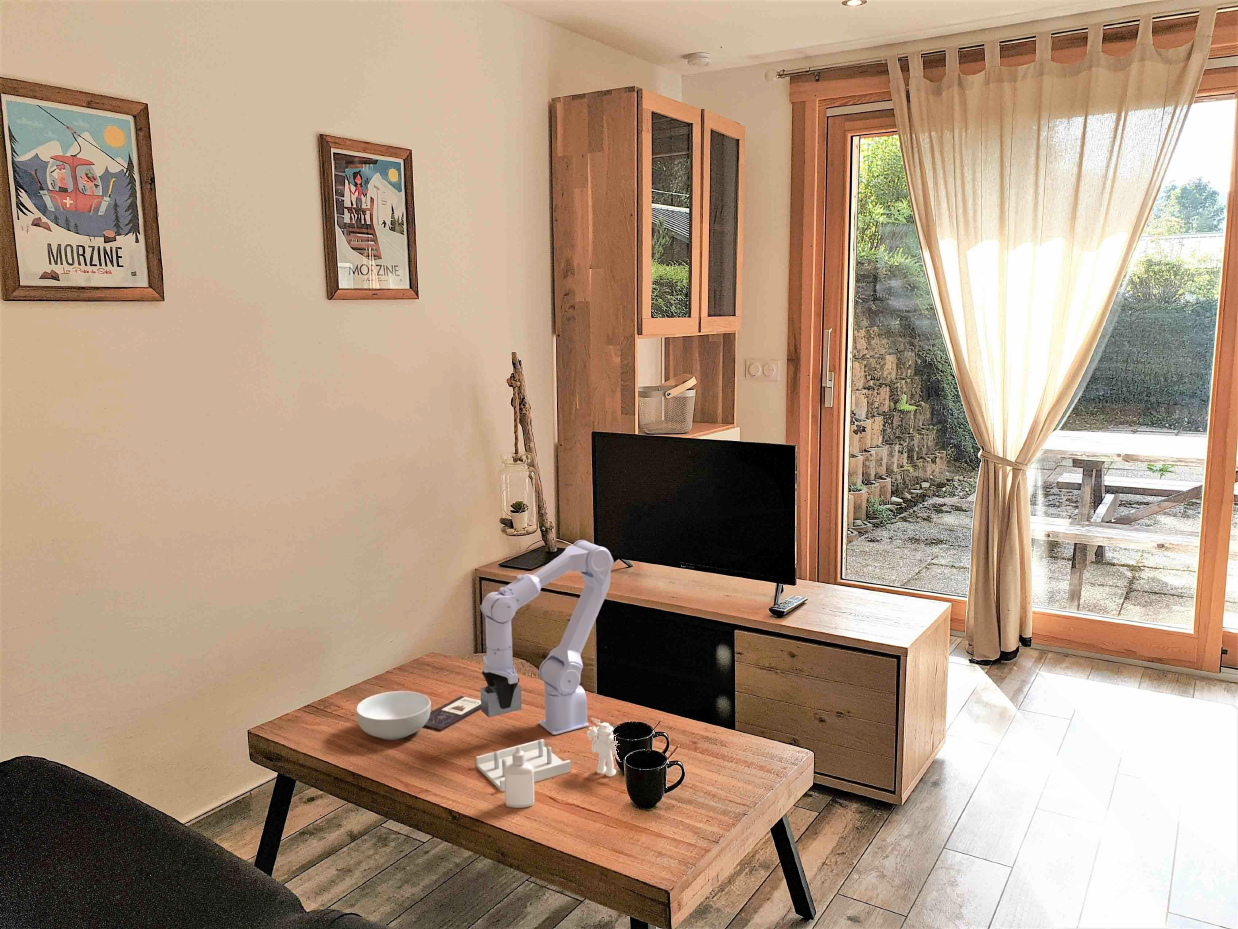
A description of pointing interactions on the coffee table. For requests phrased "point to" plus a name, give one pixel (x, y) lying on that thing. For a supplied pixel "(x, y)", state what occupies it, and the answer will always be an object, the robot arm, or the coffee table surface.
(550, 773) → the tray
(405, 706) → the cereal bowl
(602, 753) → the flower shoulder figurine
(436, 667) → the coffee table surface
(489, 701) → the grey rectangular block
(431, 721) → the chocolate bar
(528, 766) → the eye dropper bottle
